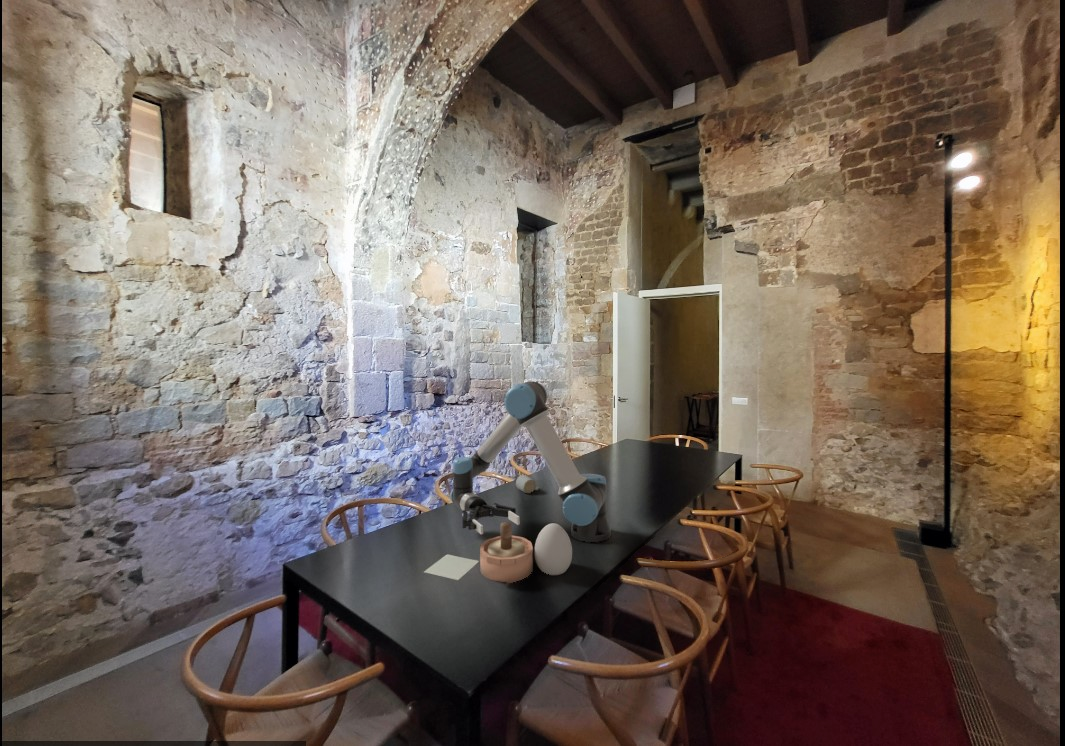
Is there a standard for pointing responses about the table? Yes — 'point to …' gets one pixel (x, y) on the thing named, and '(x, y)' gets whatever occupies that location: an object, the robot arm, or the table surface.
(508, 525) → the oak lid
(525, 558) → the terracotta bowl
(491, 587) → the table surface
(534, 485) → the ceramic mug
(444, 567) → the sage mat
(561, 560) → the decorative egg
